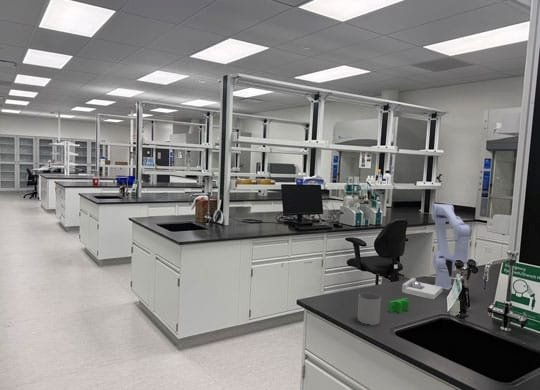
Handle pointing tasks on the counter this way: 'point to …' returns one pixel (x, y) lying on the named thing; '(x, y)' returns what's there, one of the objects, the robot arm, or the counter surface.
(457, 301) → the valve
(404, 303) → the pipe clamp
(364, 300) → the cup
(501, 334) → the counter surface
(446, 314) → the counter surface
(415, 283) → the ball
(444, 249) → the robot arm
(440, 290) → the deck
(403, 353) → the counter surface
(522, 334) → the counter surface
